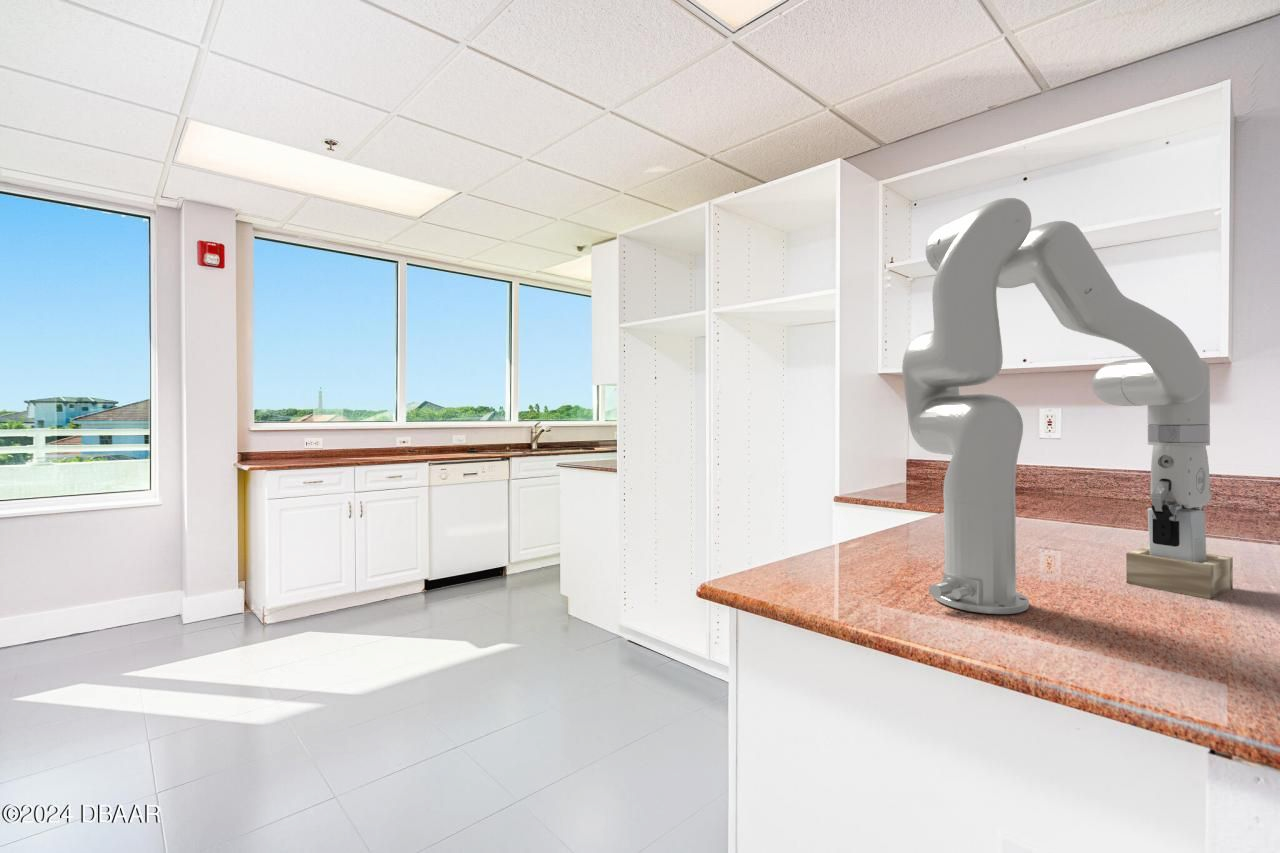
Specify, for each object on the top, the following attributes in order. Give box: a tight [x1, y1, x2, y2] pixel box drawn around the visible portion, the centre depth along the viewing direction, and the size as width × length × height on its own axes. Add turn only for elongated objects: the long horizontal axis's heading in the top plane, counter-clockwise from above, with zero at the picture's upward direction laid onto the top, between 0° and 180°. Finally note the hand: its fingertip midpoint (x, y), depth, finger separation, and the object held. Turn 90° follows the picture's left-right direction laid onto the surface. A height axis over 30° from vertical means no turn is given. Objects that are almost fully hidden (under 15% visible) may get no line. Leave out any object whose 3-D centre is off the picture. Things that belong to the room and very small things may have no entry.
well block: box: [1125, 545, 1234, 600], centre depth 98 cm, size 10×10×5 cm
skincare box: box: [1147, 507, 1207, 563], centre depth 97 cm, size 6×4×12 cm
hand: (1178, 541), depth 97 cm, fingers open, 9 cm apart
